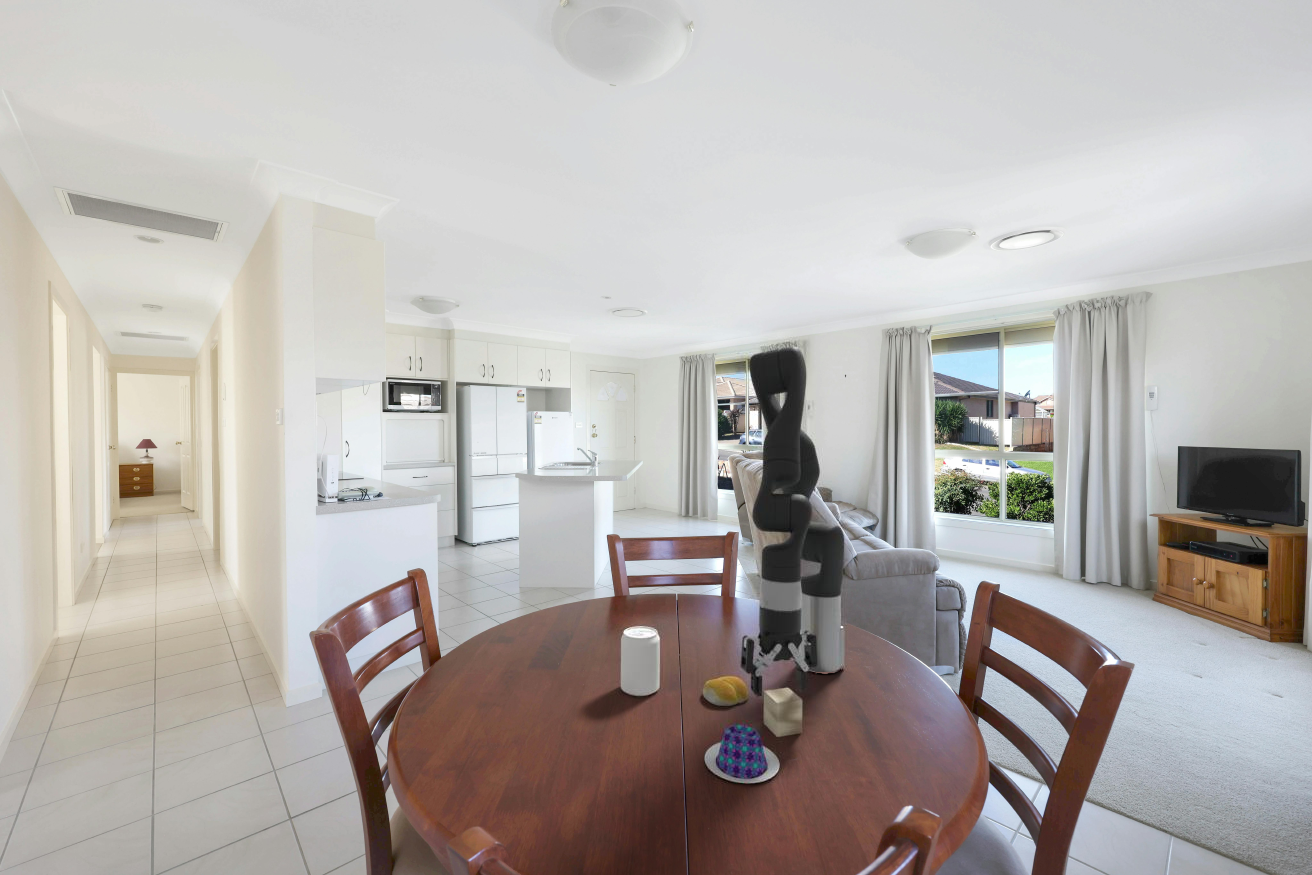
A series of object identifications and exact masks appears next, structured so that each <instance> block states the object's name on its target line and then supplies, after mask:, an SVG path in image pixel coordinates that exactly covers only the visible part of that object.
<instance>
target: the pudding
mask: <svg viewBox="0 0 1312 875" xmlns="http://www.w3.org/2000/svg"><path fill="white" fill-rule="evenodd" d="M772 751H773V750H772ZM772 751H771V750H770V749H769V748H767V747H766V746H764V745H763V741H762V738H761V735H760V734H759V732H758V731H757V730H756V729H755V728H754V727H750V726H749V725H747V724H733V725H731V726H729V727H727V728H725V729H724V731H723V734H722V738H721V741H720V742H718V743H715V744H713V745H712V746H710V747H709V748H708V749H707V750H706V752H705V754H704V762H705V765H706V766H707V769H708V770H710V771H711V772H712V773H713V774H714V775H717V776H718V777H720V778H722V779H725V780H727V781H730V782H734V783H740V784H741V783H742V784H755V783H762V782H765V781H768V780H769V779H772V778H773V777H774V776H776V774H777V773H778V771H779V770H780V760H779V759H778V757H777V756H776V754H775V753H774V752H772ZM716 759H717V760H716ZM721 769H722V770H723V771H722V770H721ZM764 770H766V771H765V772H764ZM734 776H737V777H734ZM752 777H753V778H752Z"/></svg>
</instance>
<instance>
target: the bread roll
mask: <svg viewBox="0 0 1312 875" xmlns="http://www.w3.org/2000/svg"><path fill="white" fill-rule="evenodd" d="M702 694H703V695H702V696H703V698H704V699H705V700H706V701H707V702H708V703H710V704H713V705H715V706H718V707H719V706H720V707H731V706H734V705H737V704H742V703H744V702H745V701H747V700H748V698H749V689H748V687H747V685H746V683H745V682H744V681H743V680H742V679H741V678H739V677H737V676H734V675H729V676H720V677H719V678H716V679H715V678H714V679H710V680H707V681H706V682H705V684H704V685H703V687H702Z"/></svg>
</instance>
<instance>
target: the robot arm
mask: <svg viewBox="0 0 1312 875" xmlns="http://www.w3.org/2000/svg"><path fill="white" fill-rule="evenodd" d="M748 366H749V367H748V368H749V375H750V379H751V383H752V387H753V389H754V393H755V396H756V399H757V402H758V405H759V409H760V411H761V414H762V417H763V420H764V423H765V426H766V431H767V433H766V435H765V437H764V440H763V446H762V476H761V482H760V486H759V490H758V493H757V495H756V498H755V502H754V504H753V508H752V520H753V521H752V522H753V523H754V525H755V527H756V528H757V529H758V530H759V531H761V532H765V533H766V532H769V533H784V534H785V533H789V535H790V536H789V538H788V539H786V541H783V542H779V543H773V544H768V545H766V546H764V547H763V549H762V552H761V570H760V571H761V575H760V576H761V577H760V586H759V605H758V606H759V611H758V612H759V613H758V614H759V615H758V621H759V622H758V626H759V628H758V629H759V633H758V635H757V636H756V637H753V636H752V637H751V636H748V635H746V634H745V635H743V637H742V642H741V654H740V655H741V656H740V668H741V669H742V670H743V671H744V672H745V673H747V674H748V675H750V690H751V691H752V692H753V694H754V695H755V696H756V697H757V698H759V697H762V696H763V675H762V674H763V672H764V670H765V669H766V668H768V667H769V666H770V665H771V663H772V661H773V662H780V661H790V660H792V661H793V662H794V664H795V665H796V666H797V667H795V671H794V672H795V673H794V675H795V676H794V677H795V678H794V687H795V689H796V690H797V691H799V692H800V693H802V692H803V693H804V692H805V690H806V688H807V686H808V672H809V671H808V670H811V671H815V672H831V671H835V670H837V669H839V668H840V667H841V666H844V667H845V627H844V626H843V625H841V624H842V623H841V622H842V620H841V618H842V617H841V613H842V610H841V609H842V605H841V604H842V602H841V601H842V599H841V598H842V585H843V579H844V577H843V576H844V560H845V559H844V557H845V535H844V531H843V530H842V528H841V527H840V526H839V525H837V524H832V523H826V522H819V521H818V522H817V521H812V518H813V517H812V516H813V506H812V504H811V502H810V499H811V496H812V494H813V493H814V490H815V488H816V485H817V484H818V481H819V478H820V474H821V470H820V463H819V458H818V454H817V450H816V446H815V444H814V442H813V440H812V438H811V437H810V436H809V434H807V433H806V432H805V431H804V430H803V429H802V421H803V414H804V407H805V399H806V397H805V396H806V389H807V388H806V387H807V365H806V360H805V358H804V355H803V353H802V350H800V348H799V347H798V346H797V347H796V346H786V347H781V348H777V349H771V350H767V351H762V352H759V353H754V354H753V355H751V357H750V359H749V365H748ZM784 393H786V398H785V400H784V403H783V405H782V407H781V405H780V403H779V401H778V399H777V396H776V395H778V394H784ZM779 489H781V491H782V493H775V491H777V490H779ZM802 560H803V561H805V562H810V563H811V562H812V563H817V564H820V569H819V572H818V573H813V574H811V575H810V574H809V575H805V576H802V575H801V574H802V570H801V569H802V567H801V566H802ZM801 576H802V578H801ZM758 645H759V646H758ZM757 646H758V647H760V648H759V649H758V651H757V652H756V654H755V656H754V653H755V651H756V650H757ZM754 657H755V658H754Z"/></svg>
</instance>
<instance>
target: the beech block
mask: <svg viewBox="0 0 1312 875" xmlns="http://www.w3.org/2000/svg"><path fill="white" fill-rule="evenodd" d="M763 724H764V725H765V727H767V728H768V729H769V730H770V732H772V733H773V734H774V735H775V737H777V738H780V737H785V736H792V735H797V734H802V733H803V699H802V698H801V697H800V696H798V694H797V693H795V692H794V691H793V690H792V689H791V688H789V687H784V688H783V687H782V688H775V689H766V690H763Z"/></svg>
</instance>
